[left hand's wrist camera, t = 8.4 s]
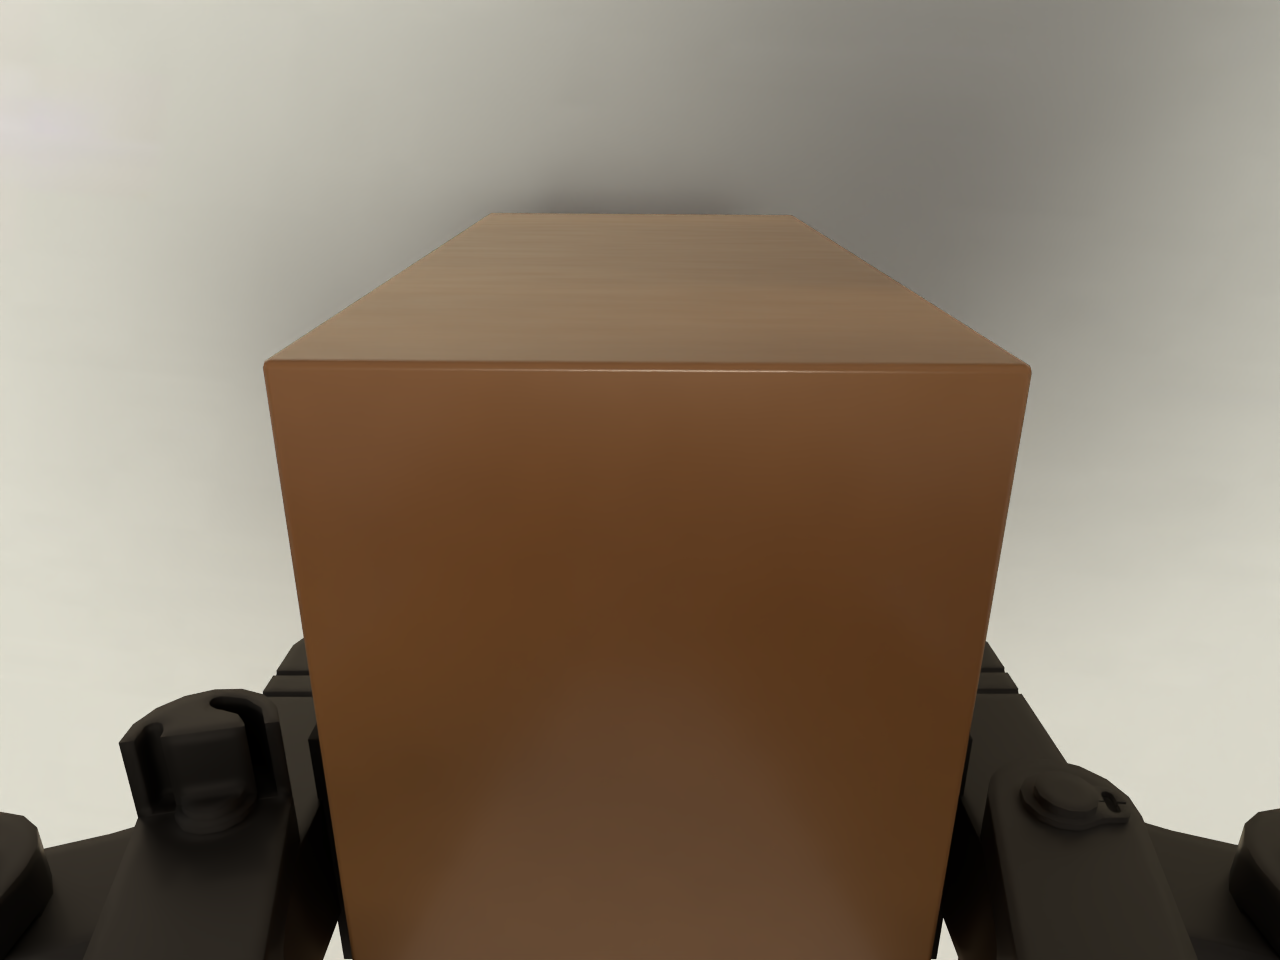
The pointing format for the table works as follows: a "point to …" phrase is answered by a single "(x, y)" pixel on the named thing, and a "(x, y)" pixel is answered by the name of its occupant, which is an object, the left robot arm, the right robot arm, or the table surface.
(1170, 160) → the table surface
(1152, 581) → the table surface
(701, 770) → the beam
